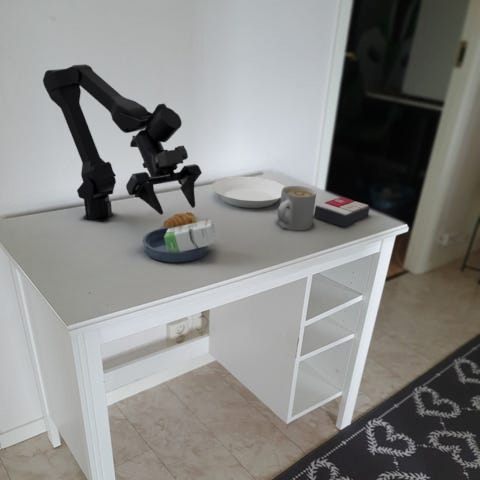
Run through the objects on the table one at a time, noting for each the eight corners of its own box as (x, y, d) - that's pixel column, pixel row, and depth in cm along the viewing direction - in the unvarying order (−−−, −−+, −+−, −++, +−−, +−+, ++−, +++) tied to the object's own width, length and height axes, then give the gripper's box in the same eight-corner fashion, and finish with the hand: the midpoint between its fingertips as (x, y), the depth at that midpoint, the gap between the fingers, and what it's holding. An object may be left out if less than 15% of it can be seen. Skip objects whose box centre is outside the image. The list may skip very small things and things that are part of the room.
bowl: (277, 216, 150) (278, 205, 148) (200, 204, 155) (200, 193, 153) (292, 192, 171) (294, 182, 169) (224, 182, 176) (224, 172, 174)
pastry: (171, 235, 134) (170, 221, 132) (158, 227, 138) (157, 214, 136) (199, 228, 139) (199, 215, 137) (186, 220, 144) (186, 208, 142)
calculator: (371, 204, 153) (346, 213, 143) (367, 217, 156) (343, 227, 145) (340, 195, 159) (315, 203, 149) (338, 208, 161) (313, 217, 151)
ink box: (168, 255, 119) (216, 245, 118) (163, 236, 117) (210, 225, 116) (173, 246, 127) (217, 236, 126) (167, 228, 125) (212, 217, 124)
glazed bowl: (134, 259, 120) (133, 247, 119) (156, 234, 134) (155, 223, 132) (198, 267, 118) (198, 256, 117) (213, 241, 132) (214, 231, 130)
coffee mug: (295, 215, 152) (299, 183, 147) (318, 226, 146) (323, 193, 140) (262, 223, 145) (265, 190, 139) (285, 235, 138) (289, 201, 133)
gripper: (128, 138, 108) (156, 201, 107) (197, 130, 119) (223, 187, 118) (114, 165, 118) (140, 223, 117) (180, 155, 128) (204, 209, 127)
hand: (178, 210), depth 119 cm, fingers open, 9 cm apart
